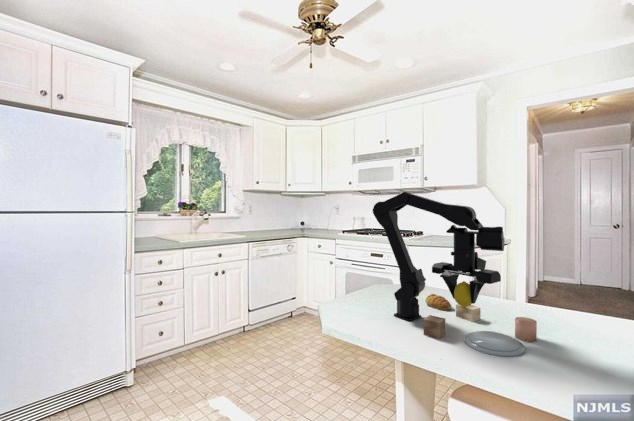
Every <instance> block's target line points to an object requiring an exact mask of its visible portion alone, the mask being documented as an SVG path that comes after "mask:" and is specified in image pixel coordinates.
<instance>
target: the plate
mask: <svg viewBox="0 0 634 421" xmlns="http://www.w3.org/2000/svg"><path fill="white" fill-rule="evenodd" d="M463 340H464V341H463V342H464V343H465V344H466V345H467V346H468V347H470V348H471V349H473V350H475V351H478V352H480V353H483V354H487V355H491V356H498V357H507V358H509V357H518V356H521V355H523V354H524V353H525V352H526V346H525V344H524V343H522V342H521V340H519V339H517V338H514V337H513V336H510V335H507V334H504V333H501V332H496V331H489V330H476V331H472V332H468V333H466V334H465V335H464V339H463Z"/></svg>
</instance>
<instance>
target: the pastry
mask: <svg viewBox="0 0 634 421" xmlns="http://www.w3.org/2000/svg"><path fill="white" fill-rule="evenodd" d="M425 303H426V305H427V306H429V307H430V308H433V309H436V310H440V311H446V310H451V308H452V304H451V302H450V301H449V300H448V299H446V298H445V297H444V296H441V295H437V294H435V293H431V294H429V295H427V297H426V298H425Z"/></svg>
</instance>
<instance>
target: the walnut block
mask: <svg viewBox="0 0 634 421" xmlns="http://www.w3.org/2000/svg"><path fill="white" fill-rule="evenodd" d="M423 335H424V336H428V337H431V338H434V339H437V340H440V339H441V338H442V337H444V336H445V335H446V318H444V317H440V316H436V315H432V314H431V315H427V316H426V317H425V318H423Z"/></svg>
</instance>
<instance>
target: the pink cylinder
mask: <svg viewBox="0 0 634 421" xmlns="http://www.w3.org/2000/svg"><path fill="white" fill-rule="evenodd" d="M537 324H538V322H537V320H535V319H533V318H530V317H525V316H518V317H514V337H515V339H516V340H518V341H523V342H527V343H535V342H537V337H538V336H537V335H538V334H537V332H538V327H537V326H538V325H537Z"/></svg>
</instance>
